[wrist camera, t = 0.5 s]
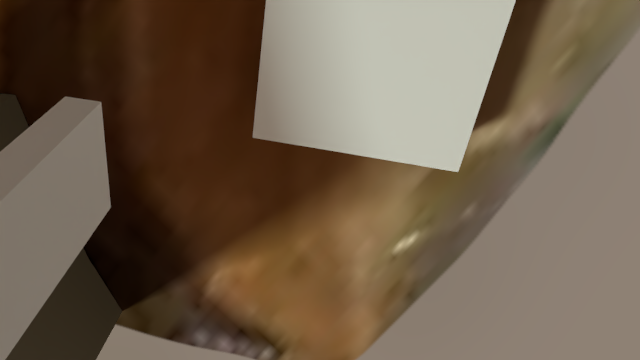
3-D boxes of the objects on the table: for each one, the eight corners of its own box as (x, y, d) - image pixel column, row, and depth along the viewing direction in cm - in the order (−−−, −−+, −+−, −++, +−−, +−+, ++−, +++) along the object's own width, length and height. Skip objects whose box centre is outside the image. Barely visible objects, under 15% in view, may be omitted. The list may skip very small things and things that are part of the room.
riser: (283, -103, 30) (273, -97, 27) (515, -62, 30) (534, -50, 27) (261, 112, 37) (250, 138, 34) (450, 144, 37) (459, 173, 34)
